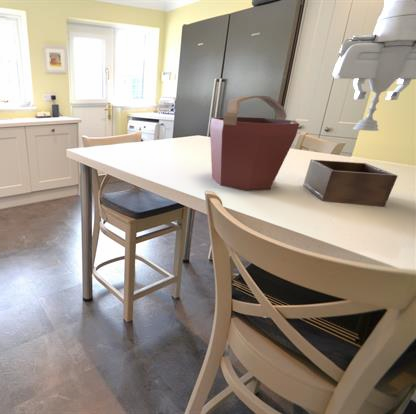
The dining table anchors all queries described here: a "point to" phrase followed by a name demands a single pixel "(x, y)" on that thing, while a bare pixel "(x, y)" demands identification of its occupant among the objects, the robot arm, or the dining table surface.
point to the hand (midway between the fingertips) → (374, 99)
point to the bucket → (250, 146)
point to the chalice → (384, 80)
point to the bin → (349, 182)
